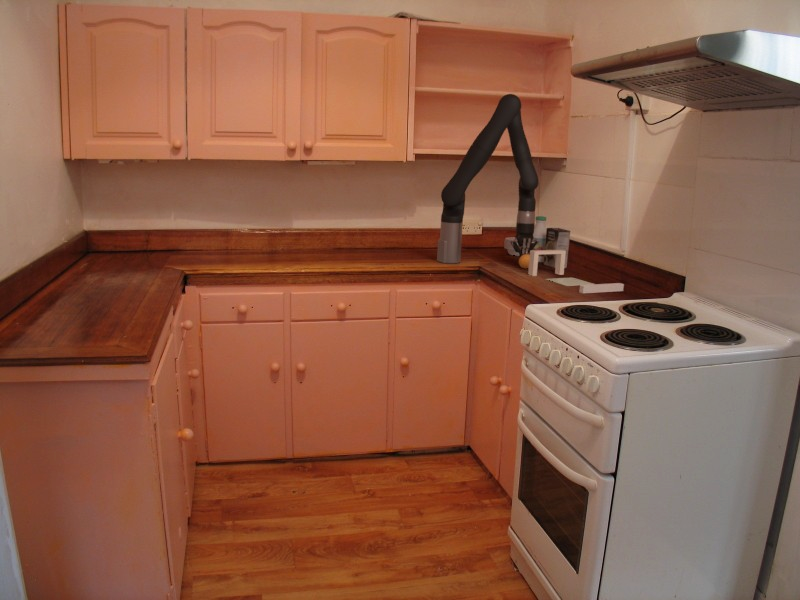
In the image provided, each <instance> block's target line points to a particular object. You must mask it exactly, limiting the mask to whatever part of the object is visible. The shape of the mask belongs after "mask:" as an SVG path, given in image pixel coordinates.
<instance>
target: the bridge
mask: <svg viewBox="0 0 800 600" xmlns="http://www.w3.org/2000/svg"><path fill="white" fill-rule="evenodd" d="M540 254H557V257H556V268H554V269H555V270H554V274H556V275H559V276H560V275H561V276H562V275H565V274H564V273H565V268H564V265H565V255H566V251H565V250H530V258H529V268H528V274H529V275H528V274H527V275H528V276H531V275H532V276H531V277H537V275H538V264H539V262H538V256H539V255H540Z"/></svg>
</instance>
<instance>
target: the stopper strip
mask: <svg viewBox="0 0 800 600" xmlns="http://www.w3.org/2000/svg"><path fill="white" fill-rule="evenodd" d="M593 284H594V285H579V290H578V292H579V293H580V294H593V293H594V294H595V293H596V294H597V293H609V292H610V293H613V292H624V287H625V284H624V283H621V282H615V283H598V284H596V283H593Z"/></svg>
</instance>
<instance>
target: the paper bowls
mask: <svg viewBox="0 0 800 600" xmlns="http://www.w3.org/2000/svg"><path fill="white" fill-rule="evenodd" d="M514 239H515V237H514V236H513V237H511V236H510V237H505V238H504V243H503V245H504V247H503V248H504V249H506V250H507V253H508V254H509V255H510V256H513V255H515V256H514V257H519V253H518V252H516V251H515V250H514V248H513V246H512V245H511V243H510V242H511V241H513V240H514ZM517 245H518V244H517ZM528 255H529V253H528Z"/></svg>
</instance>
